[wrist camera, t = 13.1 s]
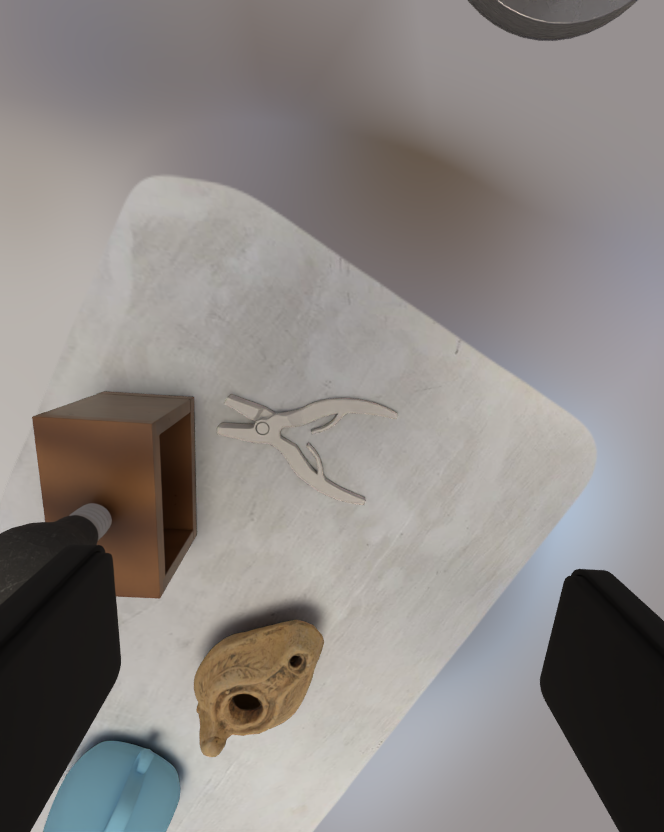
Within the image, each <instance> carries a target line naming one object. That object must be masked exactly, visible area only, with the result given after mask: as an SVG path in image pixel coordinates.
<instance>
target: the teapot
mask: <svg viewBox="0 0 664 832" xmlns="http://www.w3.org/2000/svg"><path fill="white" fill-rule="evenodd" d="M179 798H180V783H179V777H178V774H177V771H176V769H175V768H174V767H173V766H172V765H171V764H170V763H169V762H168V761H166V760H165V759H164V758H162V757H160V756H159V755H157V754H156V753H154V752H152V751H151V750H150V749H145V748H143V747H140V746H137V745H133V744H129V743H125V742H120V741H104V742H101V743H99V744H97V745H96V746H94V747H93V748H91V749H90V750H89V751H87V752H86V753H85V754H84V755H83V756H82V757H81V758H80V759H79V760H78V761H77V762H76V763H75V765H74V766H73V767H72V768H71V769H70V771H69V772H68V774H67V775H66V777H65V779H64V781H63V783H62V784H61V786H60V788H59V790H58V793H57V795H56V797H55V800H54V802H53V804H52V807H51V809H50V812H49V815H48V818H47V821H46V824H45V827H44V830H43V832H166V831H167V828H168V826H169V824H170V822H171V820H172V817H173V815H174V812H175V810H176V808H177V805H178V802H179Z"/></svg>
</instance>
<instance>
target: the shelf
mask: <svg viewBox="0 0 664 832" xmlns="http://www.w3.org/2000/svg"><path fill="white" fill-rule="evenodd" d="M32 419H33V427H34V435H35V443H36V451H37V459H38V467H39V475H40V483H41V491H42V499H43V507H44V515H45V522H55V521H57V520H59V519H61V518H63V517H66V516H69V515H70V514H72V513H73V512H74V511H76V510H77V509H79V508H80V507H82V506H84V505H86V504H90V503H94V504H99V505H101V506H103V507H104V508H105V509H107V510H108V512H109V513H110V515H111V519H112V522H111V526H110V528H109V529H108V530H107V532H106V533H105V534H104V535H103V536H102V537H101V538H100V539H99V540H98V542H97V545H101V546H103V548H104V549H105V553H110V554H111V555H112V558H113V567H114V579H115V592H116V596H118V597H140V598H161V596H162V594H163V592H164V591H165V589H166V587H167V585H168V584H169V582H170V580H171V579H172V577H173V575H174V573H175V572H176V570H177V568H178V566H179V565H180V563H181V561H182V560H183V558H184V556H185V554H186V553H187V551H188V549H189V548H190V546H191V544H192V542H193V541H194V539H195V537H196V536H197V524H196V473H195V423H194V397H187V396H171V395H155V394H139V393H123V392H107V391H104V392H101V393H98V394H96V395H93V396H90V397H87V398H84V399H82V400H79V401H76V402H73V403H70V404H67V405H65V406H62V407H59V408H56V409H53V410H50V411H48V412H44V413H41V414H38V415H36V416H33V417H32Z"/></svg>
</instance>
